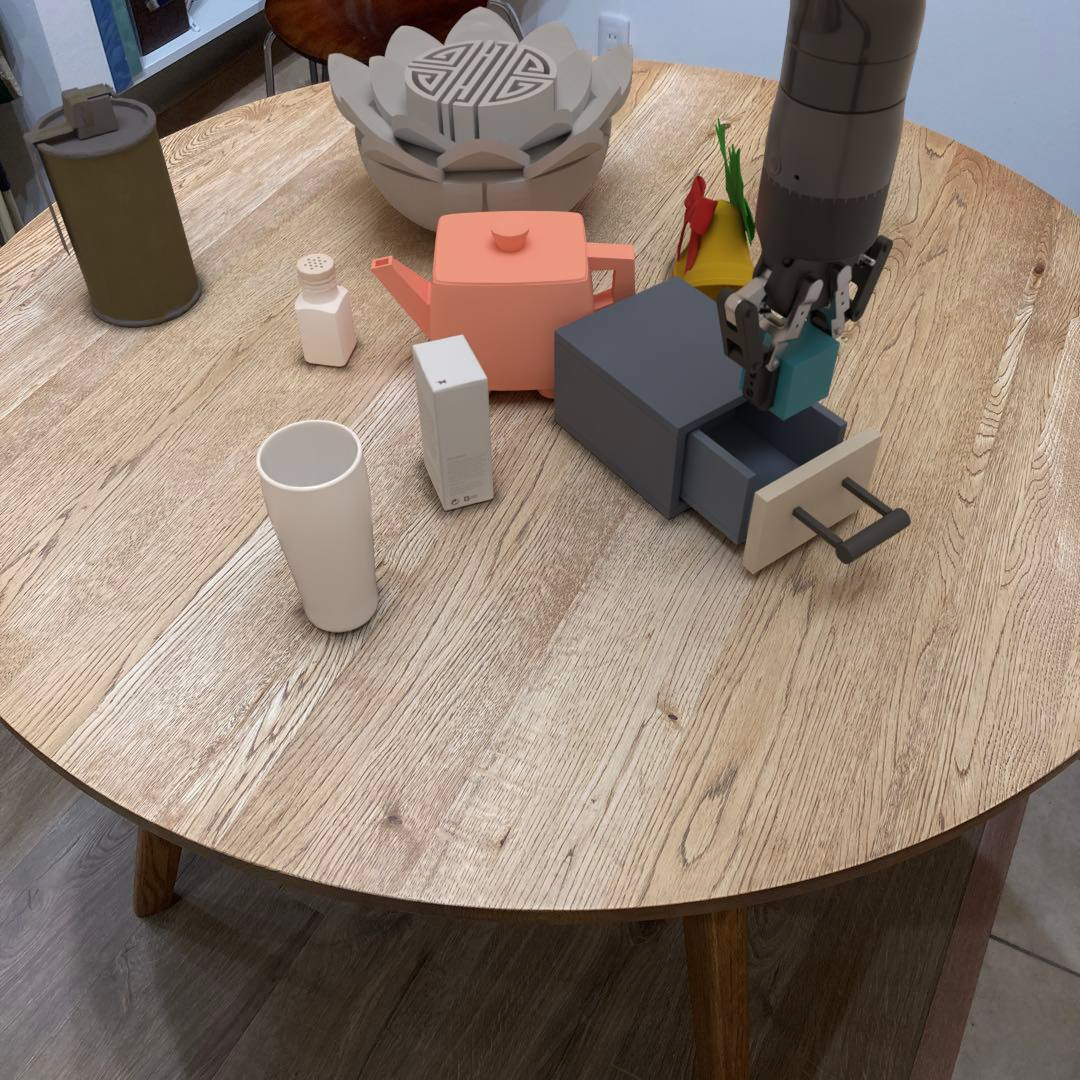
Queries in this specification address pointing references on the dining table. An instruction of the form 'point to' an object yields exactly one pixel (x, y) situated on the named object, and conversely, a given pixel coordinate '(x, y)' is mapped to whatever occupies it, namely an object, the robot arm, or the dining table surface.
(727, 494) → the drawer
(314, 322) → the salt shaker
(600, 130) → the decorative bowl
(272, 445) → the drinking glass
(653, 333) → the storage box
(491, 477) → the cosmetic box
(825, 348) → the teal block
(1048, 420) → the dining table surface
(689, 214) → the ornament
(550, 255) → the teapot
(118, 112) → the canister
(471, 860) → the dining table surface
